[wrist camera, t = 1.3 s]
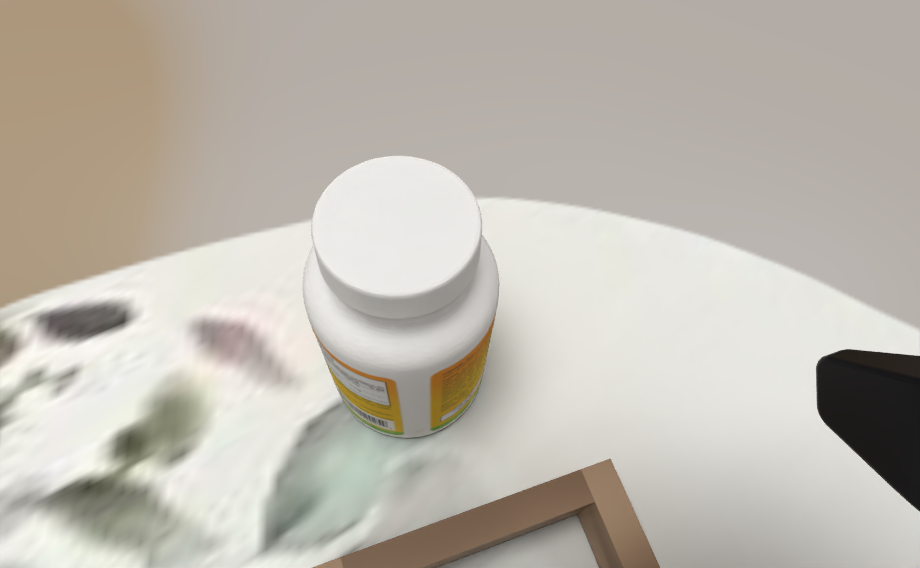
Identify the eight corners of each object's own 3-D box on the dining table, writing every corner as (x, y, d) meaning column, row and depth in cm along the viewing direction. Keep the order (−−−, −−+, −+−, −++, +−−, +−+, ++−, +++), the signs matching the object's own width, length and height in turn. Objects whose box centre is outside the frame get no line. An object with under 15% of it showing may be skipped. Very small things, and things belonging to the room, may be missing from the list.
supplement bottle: (471, 296, 24) (493, 123, 16) (492, 431, 22) (533, 312, 13) (333, 310, 24) (279, 138, 15) (338, 449, 21) (278, 338, 13)
